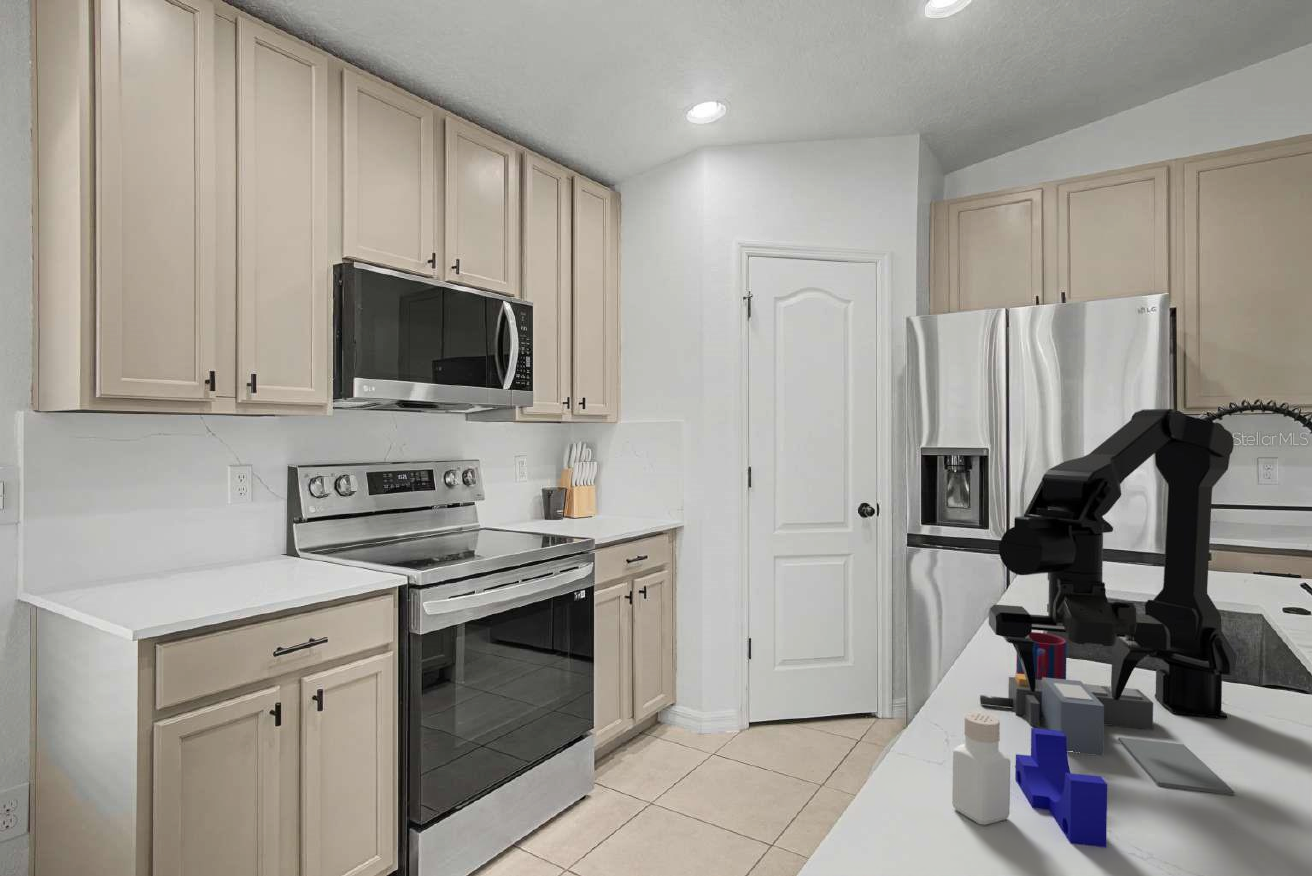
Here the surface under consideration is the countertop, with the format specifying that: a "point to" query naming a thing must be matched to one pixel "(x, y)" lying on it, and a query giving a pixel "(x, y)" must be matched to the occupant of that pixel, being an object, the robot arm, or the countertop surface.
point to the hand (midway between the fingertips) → (1073, 694)
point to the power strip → (1122, 712)
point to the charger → (1073, 714)
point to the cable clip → (1063, 789)
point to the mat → (1174, 766)
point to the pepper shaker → (981, 771)
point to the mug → (1047, 656)
